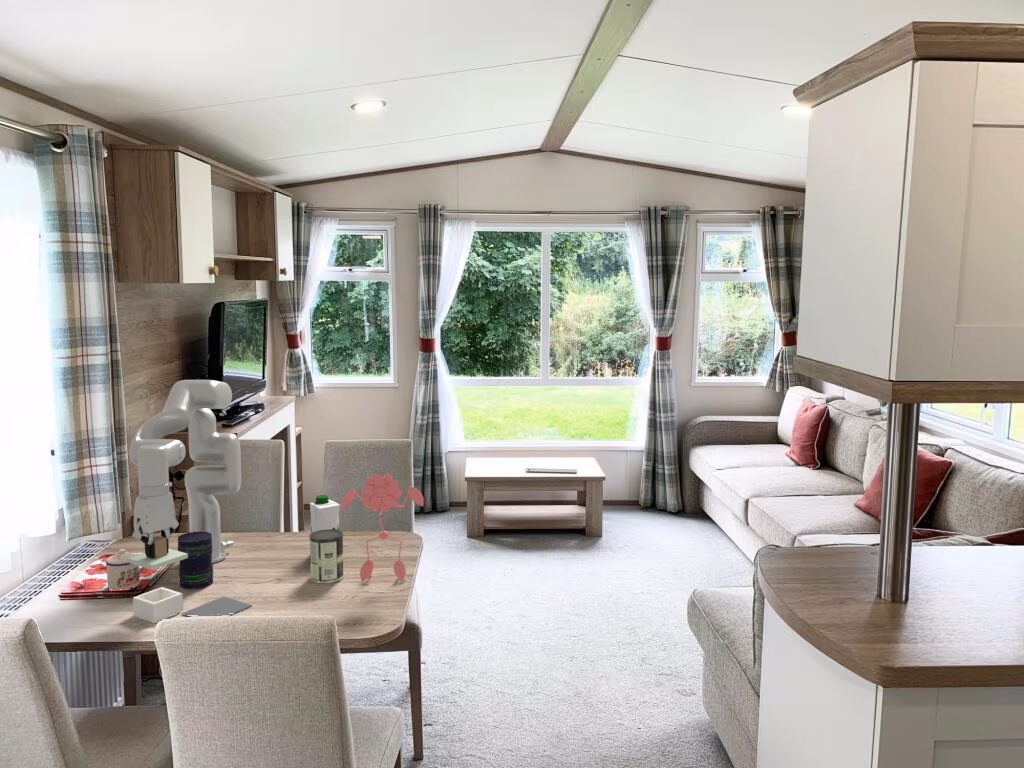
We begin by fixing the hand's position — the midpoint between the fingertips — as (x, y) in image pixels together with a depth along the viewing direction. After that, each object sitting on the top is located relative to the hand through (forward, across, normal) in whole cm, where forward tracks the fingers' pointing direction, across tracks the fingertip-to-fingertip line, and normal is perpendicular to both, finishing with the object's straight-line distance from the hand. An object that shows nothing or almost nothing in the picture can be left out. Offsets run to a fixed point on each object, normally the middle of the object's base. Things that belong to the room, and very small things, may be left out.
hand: (157, 554), depth 214 cm
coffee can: (+17, -45, +20) cm, 52 cm away
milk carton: (+17, -60, +5) cm, 62 cm away
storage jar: (+17, -20, -10) cm, 28 cm away
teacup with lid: (+17, -8, -26) cm, 32 cm away
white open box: (+17, 0, 0) cm, 17 cm away
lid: (+2, 0, 0) cm, 2 cm away
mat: (+17, -10, +12) cm, 23 cm away
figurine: (+17, -50, +38) cm, 65 cm away
